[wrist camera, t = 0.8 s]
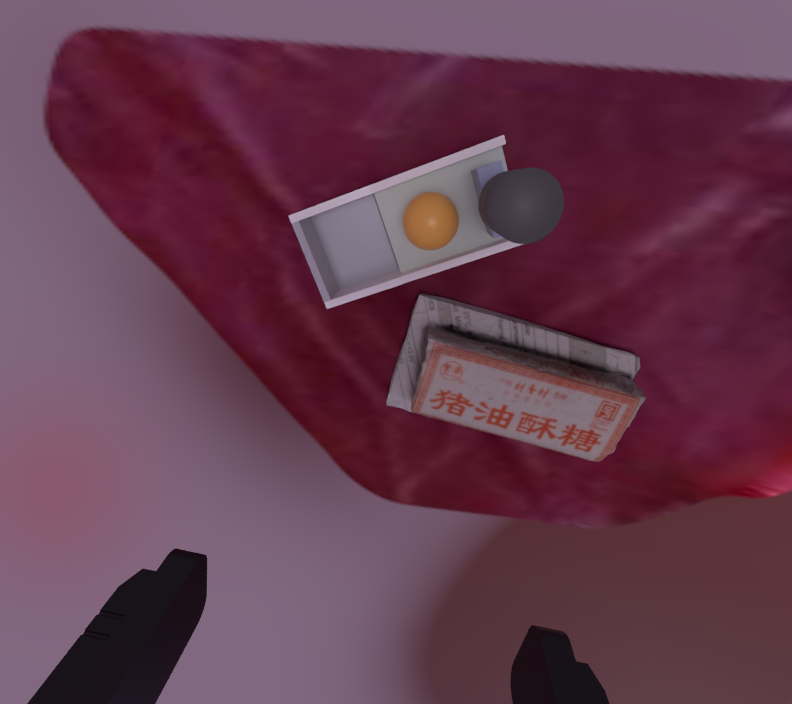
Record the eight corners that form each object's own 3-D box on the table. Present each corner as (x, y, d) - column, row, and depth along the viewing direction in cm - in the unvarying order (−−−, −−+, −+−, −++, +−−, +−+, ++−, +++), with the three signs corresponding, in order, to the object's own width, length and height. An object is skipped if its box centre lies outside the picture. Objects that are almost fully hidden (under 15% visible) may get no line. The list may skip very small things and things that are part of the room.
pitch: (494, 140, 28) (504, 134, 24) (517, 236, 30) (528, 242, 27) (374, 185, 29) (368, 185, 26) (404, 273, 31) (402, 284, 28)
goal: (374, 185, 29) (368, 185, 26) (404, 273, 31) (402, 284, 28) (302, 212, 30) (288, 215, 27) (336, 296, 32) (326, 308, 29)
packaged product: (671, 376, 28) (605, 488, 32) (637, 350, 33) (582, 451, 37) (417, 305, 28) (380, 428, 31) (418, 287, 32) (385, 397, 36)
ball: (448, 183, 27) (451, 183, 24) (462, 236, 28) (468, 243, 25) (396, 202, 27) (393, 204, 24) (413, 253, 29) (412, 262, 25)
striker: (505, 157, 26) (553, 143, 16) (520, 221, 27) (572, 241, 18) (458, 175, 26) (479, 170, 17) (475, 236, 28) (502, 264, 18)
